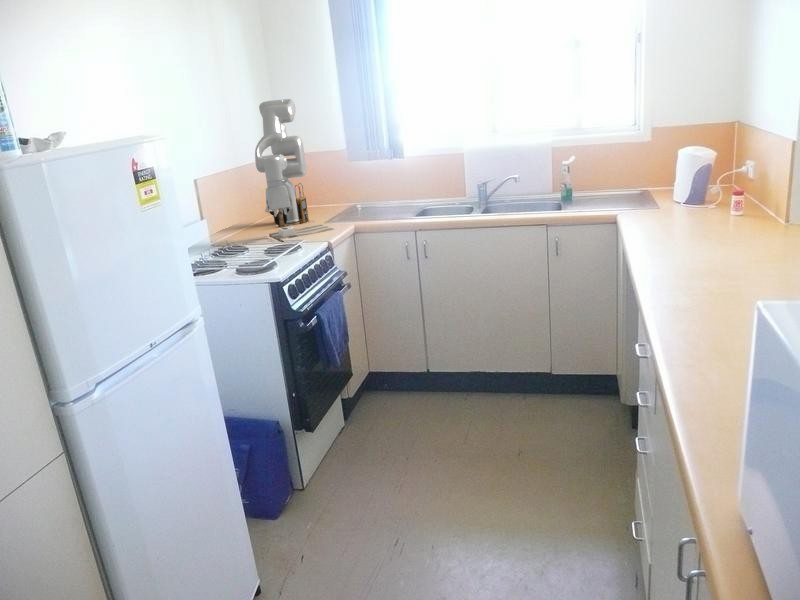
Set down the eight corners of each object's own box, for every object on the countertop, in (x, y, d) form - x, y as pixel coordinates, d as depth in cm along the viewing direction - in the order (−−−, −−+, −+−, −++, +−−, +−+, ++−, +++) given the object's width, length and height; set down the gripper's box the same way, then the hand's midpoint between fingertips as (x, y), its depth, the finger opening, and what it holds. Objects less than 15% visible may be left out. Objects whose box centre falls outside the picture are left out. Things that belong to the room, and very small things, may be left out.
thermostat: (278, 235, 303) (277, 228, 302) (291, 232, 306) (290, 226, 305) (283, 237, 298) (282, 230, 297) (296, 234, 301) (295, 227, 300)
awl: (277, 226, 308) (274, 203, 305) (283, 225, 310) (280, 202, 306) (279, 227, 306) (276, 204, 303) (285, 226, 307) (282, 203, 304)
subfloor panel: (269, 236, 308) (269, 233, 308) (321, 226, 319) (321, 224, 319) (281, 242, 293) (281, 239, 293) (335, 231, 304) (335, 229, 304)
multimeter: (315, 225, 323) (310, 184, 317) (296, 227, 326) (290, 186, 320) (325, 219, 337) (320, 180, 331) (306, 221, 339) (301, 181, 333)
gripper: (289, 181, 309) (295, 220, 314) (255, 186, 302) (262, 226, 307) (295, 182, 302) (300, 222, 308) (260, 187, 295) (266, 228, 301)
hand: (281, 223), depth 307 cm, fingers closed on awl, 3 cm apart
